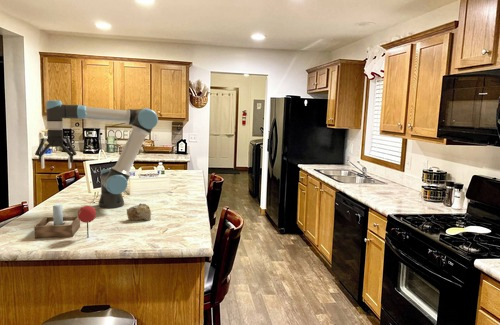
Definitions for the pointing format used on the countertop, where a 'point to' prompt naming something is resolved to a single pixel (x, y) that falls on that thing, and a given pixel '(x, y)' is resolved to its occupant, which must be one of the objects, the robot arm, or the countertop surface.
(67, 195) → the countertop surface
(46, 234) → the box
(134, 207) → the rock
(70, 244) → the countertop surface
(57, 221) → the peg
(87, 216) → the lollipop
